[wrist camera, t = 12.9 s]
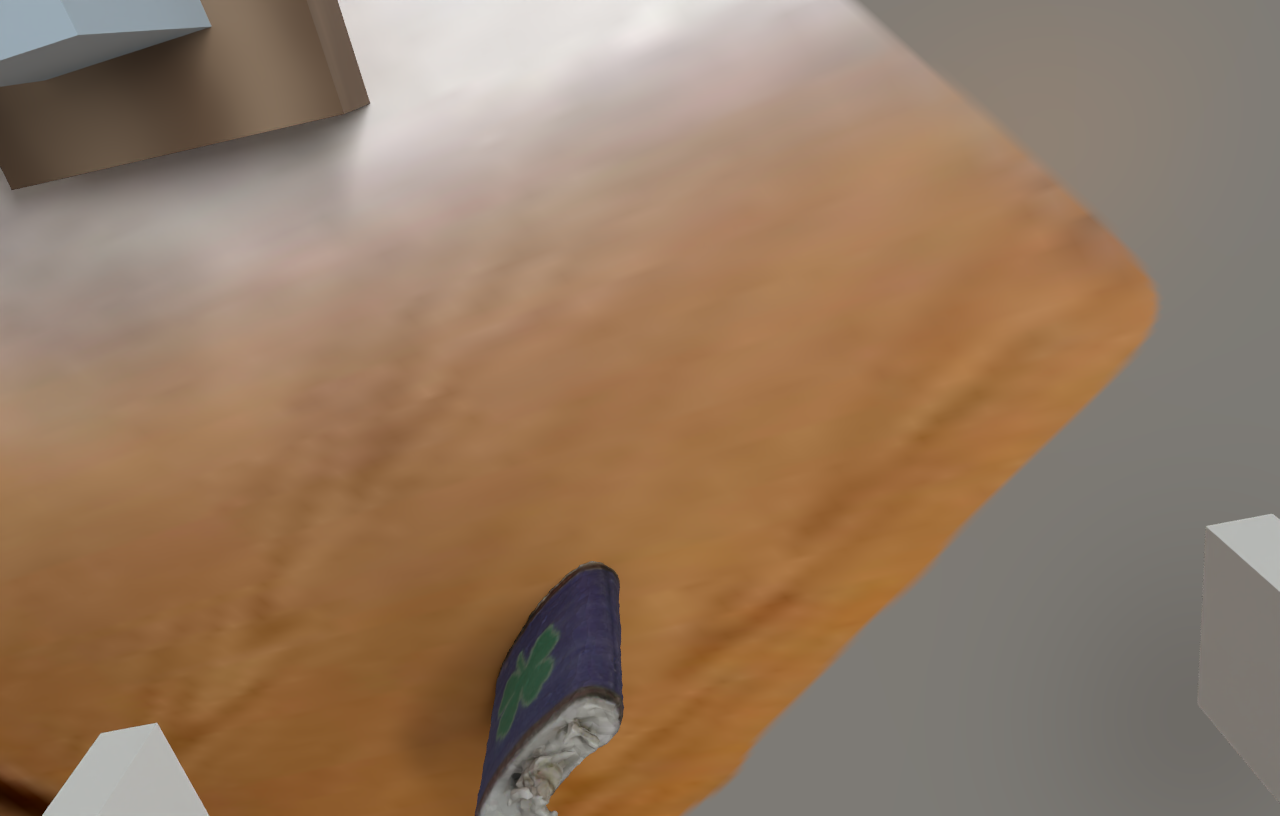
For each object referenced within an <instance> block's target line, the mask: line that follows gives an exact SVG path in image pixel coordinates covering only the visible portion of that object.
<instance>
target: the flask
mask: <svg viewBox="0 0 1280 816" xmlns="http://www.w3.org/2000/svg"><path fill="white" fill-rule="evenodd" d="M619 589H620V583H619V578H618V575H617V574H616V572H615V571H614V570H613V569H611V568H610V567H608V566H606V565H604V564H603V563H601V562H594V561H591V562H589V563H586V564H583V565H580V566H579V567H578V568H577V569H575V570H573V571H571V572H570V573H569V574H567V575H566V576H565V578H563V579H562V580H561V582H560V583H559V584H558V585H557V586H555V587H554V588H552V589H551V591H549V594H548V595H547V596H545V597H544V598H543V600H542V601H541V602H540V603H539V604H538V606H537V608H536V609H535V611H533V612H532V613H531V615H530V616H529V620H528V621H527V623H526V625H525V626H524V627H523V629H522V631H521V632H520V634H519V635H518V637H517V639H516V640H515V641H514V645H513V646H512V647H511V649H509V652H508V654H507V657H506V659H505V660H504V662H503V663H502V667H501V671H500V673H499V676H498V679H497V683H496V696H495V701H494V706H493V711H492V717H491V727H490V732H489V739H488V742H487V751H486V756H485V761H484V766H483V774H482V780H481V786H480V790H479V793H478V800H477V807H476V811H475V816H557V815H558V813H557V812H556V811H552V812H550V811H549V810H548V809H547V807H546V804H548V803H549V799H550V796H551V795H553V793H554V792H555V790H556V789H557V788H558V786H559V785H560V784H561V783H562V782H563V781H564V779H565V778H566V777H568V776H569V774H570V773H571V771H572V770H573V769H574V768H575V767H576V766H577V765H579V764H580V763H581V762H582V760H583V759H584V758H586V757H587V756H588V755H589V754H591V753H593V752H595V751H596V750H597V748H599V747H601V746H603V745H605V744H607V743H608V742H609V741H610V740H611V739H612V737H613V736H614V735H615V734H616V733H617V732H618V730H619V727H620V725H621V721H622V717H623V709H624V706H623V695H622V686H623V685H622V671H621V649H620V645H621V625H620V615H619Z"/></svg>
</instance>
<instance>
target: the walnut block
mask: <svg viewBox="0 0 1280 816" xmlns="http://www.w3.org/2000/svg"><path fill="white" fill-rule="evenodd" d="M200 1H201V4H202V6H203V8H204V10H205V13H206V15H207V17H208V19H209V22H210V24H211V26H212V27H209V28H206V29H203V30H199V31H196V32H193V33H190V34H187V35H184V36H181V37H178V38H175V39H172V40H169V41H165V42H162V43H159V44H156V45H153V46H150V47H147V48H144V49H141V50H138V51H135V52H131V53H128V54H125V55H122V56H119V57H116V58H113V59H110V60H107V61H104V62H101V63H97V64H94V65H91V66H88V67H85V68H82V69H79V70H76V71H73V72H70V73H67V74H63V75H60V76H57V77H54V78H51V79H48V80H45V81H38V82H31V83H24V84H16V85H9V86H2V87H0V167H1V169H2V171H3V173H4V175H5V177H6V179H7V181H8V183H9V185H10V187H11V189H12V190H15V189H19V188H23V187H28V186H32V185H37V184H41V183H45V182H50V181H54V180H58V179H63V178H67V177H71V176H76V175H80V174H85V173H89V172H93V171H98V170H102V169H106V168H111V167H115V166H119V165H124V164H128V163H133V162H137V161H141V160H146V159H150V158H154V157H159V156H163V155H167V154H172V153H176V152H181V151H185V150H189V149H194V148H198V147H202V146H207V145H211V144H215V143H220V142H224V141H229V140H233V139H237V138H242V137H246V136H250V135H255V134H259V133H263V132H268V131H272V130H276V129H281V128H285V127H290V126H294V125H298V124H303V123H307V122H311V121H316V120H320V119H324V118H329V117H333V116H338V115H342V114H345V113H348V112H350V111H353V110H355V109H358V108H360V107H363V106H365V105H367V104H370V101H369V98H368V95H367V92H366V89H365V86H364V83H363V79H362V76H361V73H360V70H359V67H358V64H357V61H356V57H355V54H354V51H353V48H352V45H351V42H350V39H349V35H348V32H347V29H346V26H345V23H344V20H343V16H342V13H341V10H340V7H339V4H338V1H337V0H200Z"/></svg>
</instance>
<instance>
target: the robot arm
mask: <svg viewBox="0 0 1280 816" xmlns="http://www.w3.org/2000/svg"><path fill="white" fill-rule="evenodd" d="M1202 597H1203V598H1202V617H1201V638H1200V660H1199V679H1198V701H1197V704H1198V706H1199V707H1200V708H1201V709H1202V710H1203V712H1204V713H1205V714H1206V715H1207V716H1208V717H1209V719H1210V720H1211V721H1212V723H1213V724H1214V725H1215V726H1216V727H1217V728H1218V730H1219V731H1220V732H1221V733H1222V735H1223V736H1224V737H1225V738H1226V739H1227V741H1228V742H1229V743H1230V744H1231V745H1232V747H1233V748H1234V749H1235V750H1236V752H1237V753H1238V754H1239V755H1240V756H1241V758H1242V759H1243V760H1244V761H1245V762H1246V764H1247V765H1248V766H1249V767H1250V768H1251V770H1252V771H1253V772H1254V773H1255V775H1256V776H1257V777H1258V778H1259V779H1260V780H1261V782H1262V783H1263V784H1264V785H1265V787H1266V788H1267V789H1268V790H1269V791H1270V793H1271V794H1272V795H1273V796H1274V797H1275V798H1276V800H1277V801H1278V802H1279V804H1280V519H1278V518H1277V517H1276V516H1274V515H1273V514H1268V515H1263V516H1258V517H1253V518H1247V519H1242V520H1236V521H1231V522H1225V523H1221V524H1215V525H1209V526H1206V534H1205V554H1204V575H1203V596H1202ZM42 816H209V815H208V813H207V811H206V809H205V808H204V806H203V804H202V802H201V800H200V799H199V797H198V795H197V793H196V791H195V790H194V788H193V786H192V784H191V783H190V781H189V779H188V777H187V775H186V774H185V772H184V770H183V768H182V766H181V765H180V763H179V761H178V759H177V758H176V756H175V754H174V752H173V750H172V749H171V747H170V745H169V743H168V741H167V740H166V738H165V736H164V734H163V732H162V731H161V729H160V727H159V725H158V724H157V723H153V724H148V725H143V726H137V727H132V728H127V729H121V730H116V731H111V732H105V733H101V734H100V735H99V736H98V738H97V739H96V741H95V742H94V743H93V745H92V746H91V748H90V749H89V750H88V752H87V753H86V755H85V756H84V758H83V759H82V760H81V762H80V763H79V765H78V766H77V767H76V769H75V770H74V772H73V773H72V774H71V776H70V777H69V779H68V780H67V781H66V783H65V784H64V786H63V787H62V788H61V790H60V791H59V793H58V794H57V795H56V797H55V798H54V800H53V801H52V802H51V804H50V805H49V807H48V808H47V809H46V811H45V812H44V814H43V815H42Z"/></svg>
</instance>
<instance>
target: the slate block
mask: <svg viewBox="0 0 1280 816" xmlns="http://www.w3.org/2000/svg"><path fill="white" fill-rule="evenodd" d="M209 27H212V26H211V24H210V22H209V19H208V17H207V15H206V13H205V10H204V8H203V6H202V4H201V1H200V0H0V87H2V86H9V85H16V84H24V83H31V82H38V81H45V80H48V79H51V78H54V77H57V76H60V75H63V74H67V73H70V72H73V71H76V70H79V69H82V68H85V67H88V66H91V65H94V64H97V63H101V62H104V61H107V60H110V59H113V58H116V57H119V56H122V55H125V54H128V53H131V52H135V51H138V50H141V49H144V48H147V47H150V46H153V45H156V44H159V43H162V42H165V41H169V40H172V39H175V38H178V37H181V36H184V35H187V34H190V33H193V32H196V31H199V30H203V29H206V28H209Z"/></svg>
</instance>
